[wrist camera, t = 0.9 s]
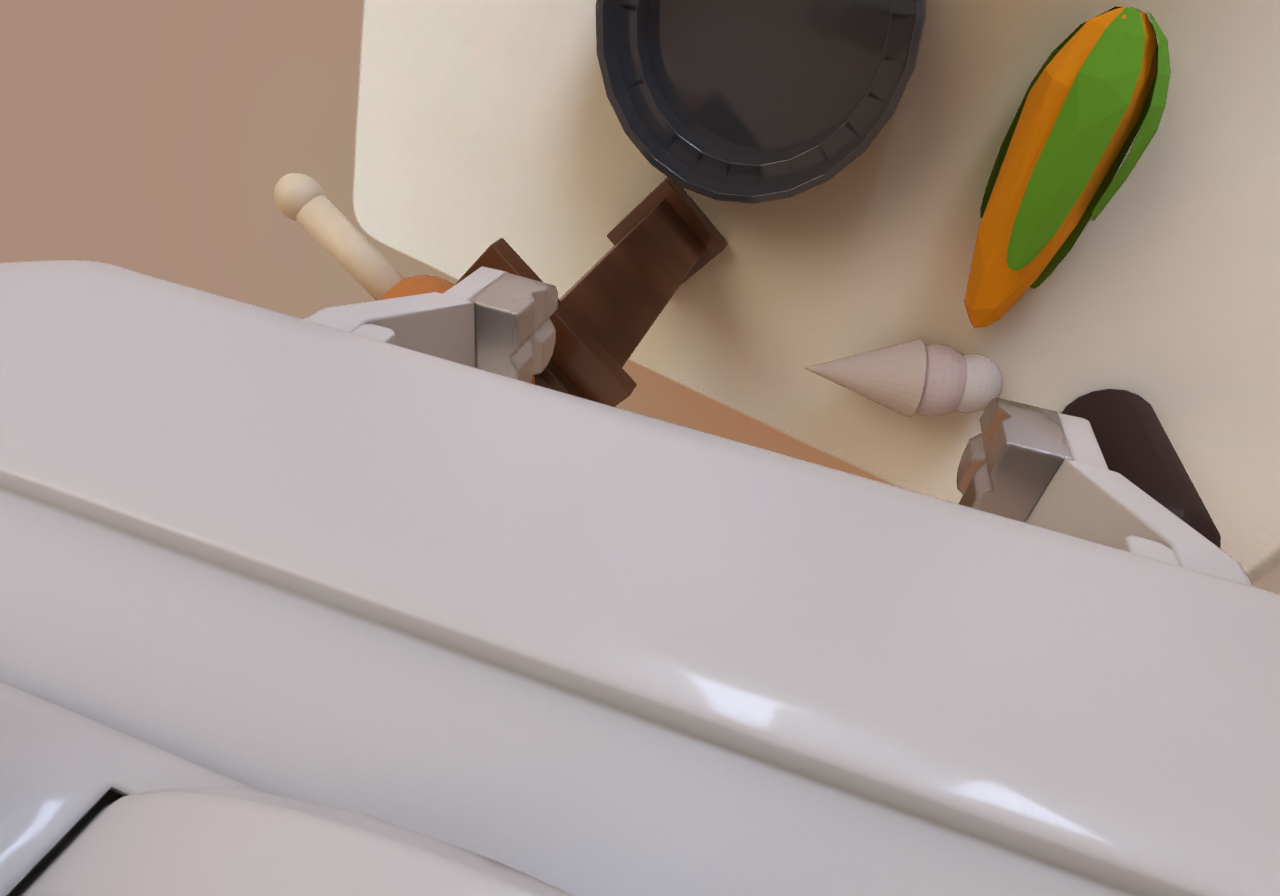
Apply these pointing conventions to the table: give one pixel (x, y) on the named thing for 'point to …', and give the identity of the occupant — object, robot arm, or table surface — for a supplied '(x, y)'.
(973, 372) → the ice cream cone
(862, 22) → the bowl
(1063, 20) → the table surface
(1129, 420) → the bottle
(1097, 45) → the corn
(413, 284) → the drumstick
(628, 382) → the stand
